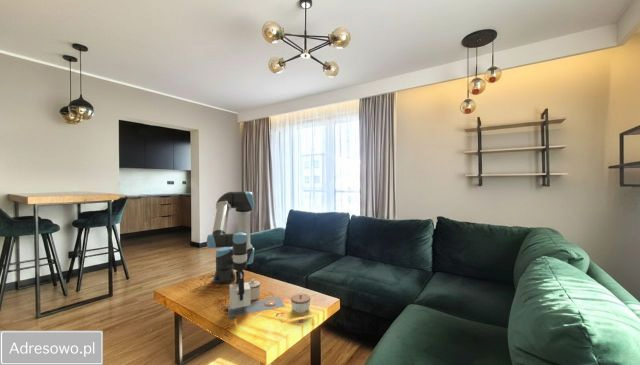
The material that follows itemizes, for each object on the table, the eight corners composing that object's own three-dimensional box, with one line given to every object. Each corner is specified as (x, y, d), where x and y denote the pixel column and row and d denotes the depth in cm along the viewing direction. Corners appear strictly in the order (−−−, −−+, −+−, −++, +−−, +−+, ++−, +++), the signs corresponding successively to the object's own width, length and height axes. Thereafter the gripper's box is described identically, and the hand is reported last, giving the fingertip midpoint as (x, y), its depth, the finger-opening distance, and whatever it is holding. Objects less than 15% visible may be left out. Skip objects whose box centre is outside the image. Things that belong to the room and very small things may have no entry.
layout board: (227, 308, 149) (227, 305, 149) (279, 298, 161) (279, 296, 161) (229, 319, 137) (229, 316, 137) (285, 308, 149) (285, 305, 149)
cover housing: (229, 300, 148) (229, 284, 148) (247, 297, 152) (247, 282, 152) (231, 308, 139) (231, 291, 138) (250, 305, 143) (250, 288, 142)
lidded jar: (287, 311, 146) (287, 294, 146) (301, 304, 153) (301, 288, 153) (299, 318, 138) (299, 300, 138) (314, 311, 146) (314, 294, 145)
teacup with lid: (263, 296, 163) (263, 278, 163) (254, 303, 155) (254, 283, 155) (247, 293, 168) (247, 275, 168) (237, 299, 159) (237, 280, 159)
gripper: (231, 256, 154) (230, 294, 154) (234, 268, 133) (234, 312, 133) (244, 255, 157) (244, 292, 157) (250, 266, 136) (249, 309, 136)
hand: (239, 301), depth 145 cm, fingers closed on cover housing, 10 cm apart
